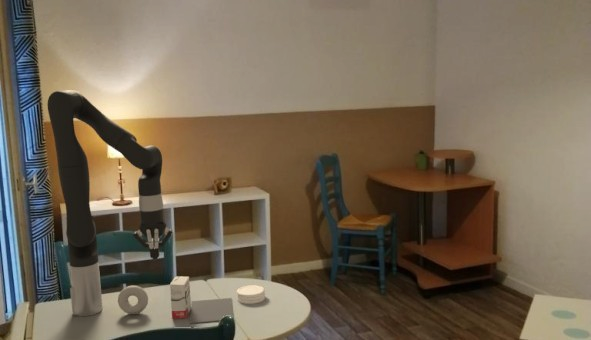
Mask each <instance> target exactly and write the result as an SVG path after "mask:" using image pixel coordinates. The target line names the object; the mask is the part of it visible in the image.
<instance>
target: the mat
mask: <svg viewBox="0 0 591 340" xmlns="http://www.w3.org/2000/svg"><path fill="white" fill-rule="evenodd" d="M226 315H231V316H233V317H234V310H233V302H232V297H229V298H228V297H227V298H217V299H216V298H214V299H204V300H203V299H202V300H191V309H190V317H189V324H190V325H192V324H205V323H214V322H220V321H219V320H220V319H221V318H222V317H223V316H226Z"/></svg>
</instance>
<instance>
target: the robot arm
mask: <svg viewBox="0 0 591 340" xmlns="http://www.w3.org/2000/svg"><path fill="white" fill-rule="evenodd" d="M46 105H47V113H48V116H49V121H50V125H51V129H52V133H53V139H54V146H55V153H56V160H57V170H58V176H59V183H60V188H61V193H62V197H63V199H64V204H65V210H66V211H65V212H66V213H65V215H66V231H65V232H66V233H65V235H66V238H67V249H68V263H69V270H70V271H69V272H70V281H71V287H69V291H70V302H71V303H70V304H71V312H72V316H80V317H86V316H87V317H88V316H92V315H96V314H98V313H100V312H101V311H102V310H103V299H102V288H101V275H100V264H99V263H100V261H99V252H98V251H99V250H98V239H97V228H96V223H95V221H94V220H93V216H92V211H91V207H90V206H91V205H90V191H91V190H90V188H91V187H90V183H91V182H90V170H89V168H90V167H89V163H88V157H87V154H86V151H85V150H84V149H83V147H82V146H81V143H80V142H79V140H78V137H77V135H76V131H75V125H74V123H75V122H74V119H77V120H79V121H81V122H83V123H85V124H86V125H88V126H89V127H90V128H92V129H93V131H95V133H96V134H97V135H98V136H99V138H100V139H101V140H102V141H103V142H104V143H105V144H107V145H108V146H109V147H111V148H112V149H114V150H115V151H117V152H119V153H120V154H121V155H122V156H123V157H124V159H126V160H127V161H128V162H129V163H130V164H131V165H132V166H133V167H135V168H136V169H140V170H141V171H142V172H141V176H140V177H139V178H138V181H137V183H138V184H137V187H138V207H139V220H140V222H139V223H140V224H139V228H138V230H137V231H134V233H133V235H132V236H133V237H134V239H135V240H136V241H138V242H139V243H140V244H141V246H143V248H147V249H149V256H150V259H152V260H158V258H160V247H164V245H165V244H166V243H167V242H168V240H169V238H171V235H173V229H171V228H169V227H167V224H166V223H165V214H164V213H165V212H164V201H163V200H164V199H163V196H162V185H161V176H162V169H163V156H162V153H161V152H162V151H161V150H160V149H159V148H158V146H156V145H147V146H143V145H141V144H139V143H138V142H137V141H138V140H137V138H136V136H135V134H133V133H131V132H129V131H128V130H126V129H125V128H124V127H122V126H120V125H119V124H117V123H116V122H114V121H113V120H111V119H110V118H109V117H108V116H106V115H105V114H104V113H102V111H100V109H99V108H97V107H96V106H95V105H93V104H92V102H91V101H89V100H88V99H87V98H86V97H85V96H84V95H83V94H81V93H80V92H79V91H78V90H74V89H66V90H56V91H54V92H52V93H51V94H49V97H48V98H47V103H46ZM163 233H164V237H162V239H161V241H160V237H161V236H162V235H163ZM142 235H143V236H144V237H145V238H147V240H146V239H145V238H144V237H143V236H142Z"/></svg>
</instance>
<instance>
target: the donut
mask: <svg viewBox="0 0 591 340" xmlns="http://www.w3.org/2000/svg"><path fill="white" fill-rule="evenodd" d="M131 296H134V297H135V298H136V299H137V302H136V303H133V304H132V303H131V302H130V301H129V298H130V297H131ZM117 303H118V306H119V308H120V309H121V310H122V311H123V312H124V313H126V314H128V315H138V314H140V313H143V311H144V310H146V308H147V306H148V303H149V295H148V294H147V292H146V291H145V289H144V288H143V287H141V286H139V285H133V284H132V285H127V286H126V287H124V288H123V289H121V291H119V294H118V297H117Z"/></svg>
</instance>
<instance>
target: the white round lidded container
mask: <svg viewBox="0 0 591 340" xmlns="http://www.w3.org/2000/svg"><path fill="white" fill-rule="evenodd" d="M265 292H266V290H265V288H264V287H262V286H261V285H253V284H252V285H244V286H241V287H239V288H238V289H237V290H236V299H237V301H238V302H239V303H241V304H245V305H248V304H249V305H253V304H255V305H256V304H260V303H261V302H263V301H264V300H265V299H266V293H265Z"/></svg>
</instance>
